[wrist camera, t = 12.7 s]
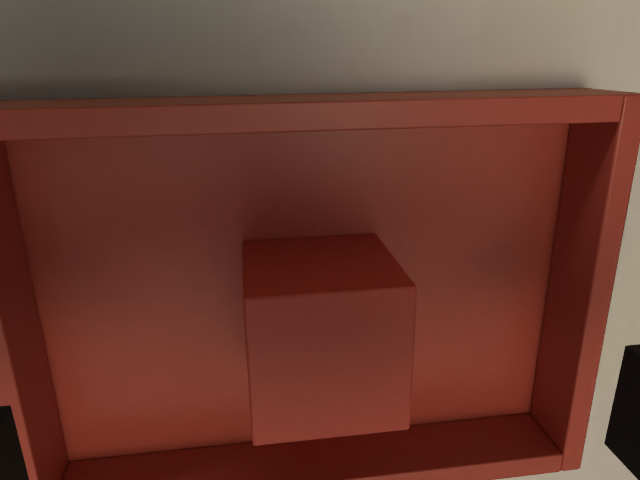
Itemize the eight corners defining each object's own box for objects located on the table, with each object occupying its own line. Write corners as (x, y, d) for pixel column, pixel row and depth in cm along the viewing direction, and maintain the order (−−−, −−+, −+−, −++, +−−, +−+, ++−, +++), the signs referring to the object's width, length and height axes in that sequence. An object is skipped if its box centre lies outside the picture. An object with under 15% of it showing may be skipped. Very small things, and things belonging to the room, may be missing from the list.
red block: (249, 360, 19) (252, 447, 15) (242, 240, 18) (243, 298, 14) (373, 349, 20) (410, 430, 16) (376, 232, 18) (418, 286, 14)
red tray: (54, 468, 20) (24, 537, 17) (-25, 100, 16) (-83, 110, 13) (537, 417, 23) (580, 469, 20) (585, 87, 18) (650, 93, 16)
